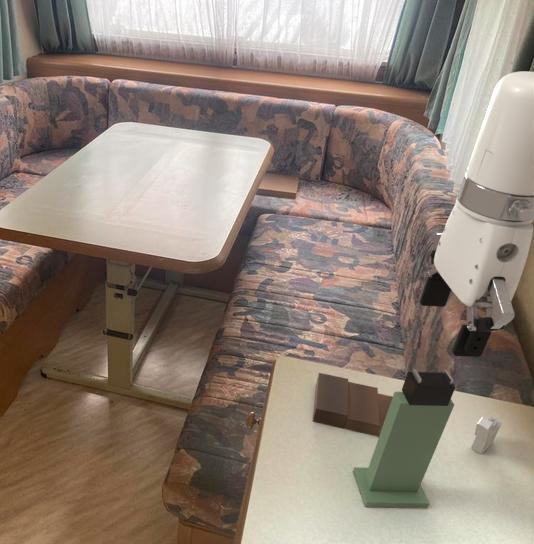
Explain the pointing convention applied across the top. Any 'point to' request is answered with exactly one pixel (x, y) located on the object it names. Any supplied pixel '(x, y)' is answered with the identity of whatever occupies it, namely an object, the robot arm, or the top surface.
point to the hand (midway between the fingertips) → (447, 328)
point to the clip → (428, 388)
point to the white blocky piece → (485, 434)
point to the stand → (402, 455)
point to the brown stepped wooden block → (349, 405)
